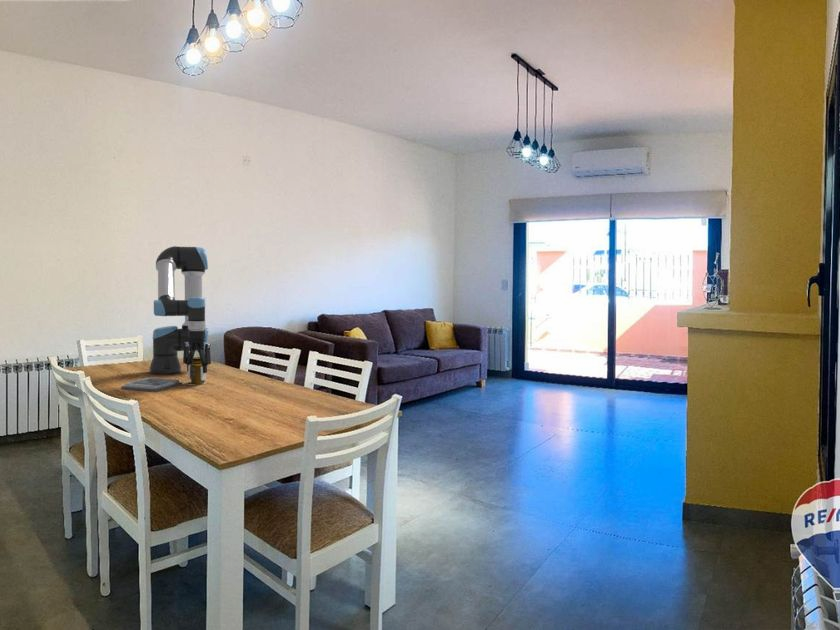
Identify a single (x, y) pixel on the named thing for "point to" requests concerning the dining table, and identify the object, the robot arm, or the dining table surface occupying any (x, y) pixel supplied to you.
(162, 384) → the grey square tray
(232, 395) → the dining table surface
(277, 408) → the dining table surface
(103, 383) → the dining table surface
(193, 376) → the condiment
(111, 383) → the dining table surface
